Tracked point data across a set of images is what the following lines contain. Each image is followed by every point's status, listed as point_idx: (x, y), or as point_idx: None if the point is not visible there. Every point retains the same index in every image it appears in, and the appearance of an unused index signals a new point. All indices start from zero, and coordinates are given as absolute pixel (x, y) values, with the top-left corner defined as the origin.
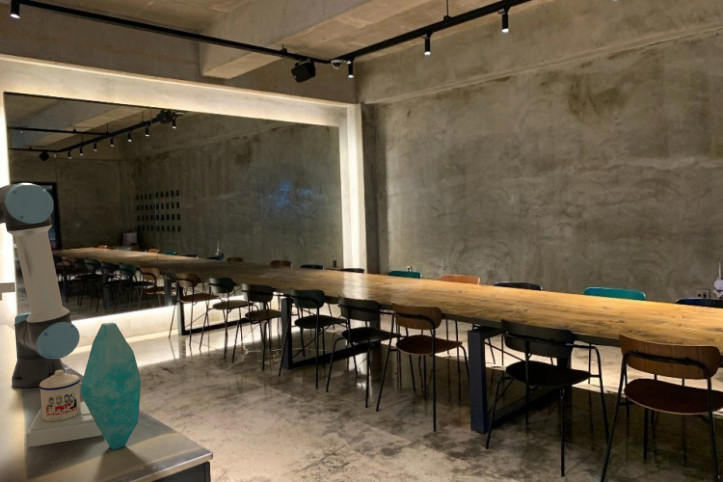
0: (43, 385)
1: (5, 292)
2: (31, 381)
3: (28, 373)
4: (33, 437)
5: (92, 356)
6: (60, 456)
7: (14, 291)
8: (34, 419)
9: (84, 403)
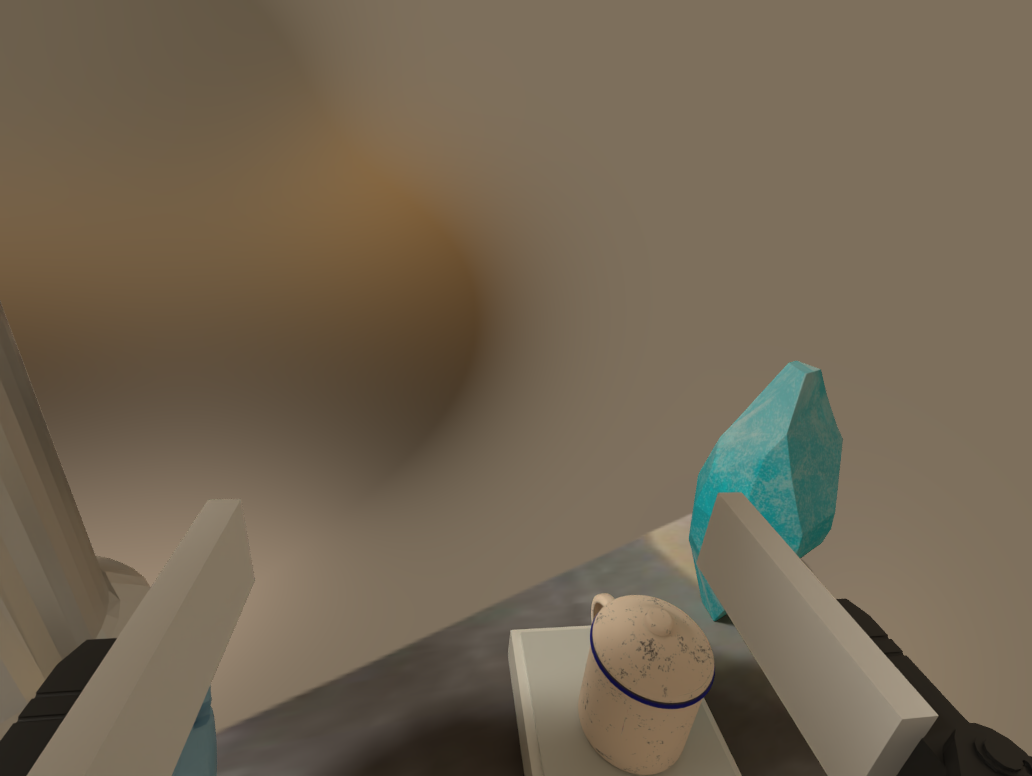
0: (708, 677)
1: (222, 651)
2: None
3: None
4: None
5: (801, 461)
6: (776, 713)
7: (251, 577)
8: None
9: (542, 674)
